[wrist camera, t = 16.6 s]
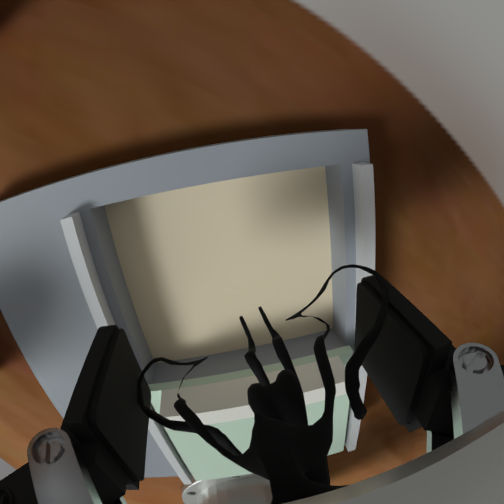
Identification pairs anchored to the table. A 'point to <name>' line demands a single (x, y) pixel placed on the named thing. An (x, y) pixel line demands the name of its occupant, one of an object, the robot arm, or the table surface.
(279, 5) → the table surface
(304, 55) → the table surface
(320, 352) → the creature
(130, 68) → the table surface
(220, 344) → the framed board
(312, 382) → the lid
